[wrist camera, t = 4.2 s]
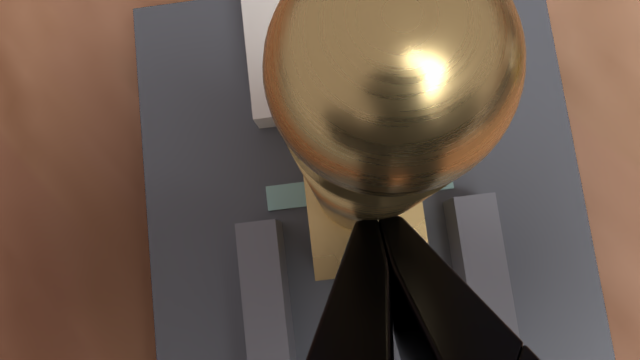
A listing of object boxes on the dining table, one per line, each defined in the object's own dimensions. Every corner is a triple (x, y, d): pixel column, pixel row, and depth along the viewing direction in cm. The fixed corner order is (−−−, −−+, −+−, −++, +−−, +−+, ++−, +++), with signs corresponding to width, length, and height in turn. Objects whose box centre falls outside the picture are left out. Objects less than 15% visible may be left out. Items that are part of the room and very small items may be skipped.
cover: (440, 105, 16) (447, 94, 15) (259, 128, 17) (252, 119, 15) (414, -63, 17) (419, -85, 16) (242, -39, 18) (234, -60, 16)
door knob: (420, 265, 16) (685, 319, 3) (319, 277, 16) (228, 370, 4) (398, 110, 16) (553, -296, 4) (301, 122, 16) (175, -238, 4)
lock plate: (617, 526, 16) (693, 603, 13) (194, 568, 17) (153, 653, 13) (516, -16, 19) (556, -77, 15) (154, 33, 20) (112, -16, 16)
